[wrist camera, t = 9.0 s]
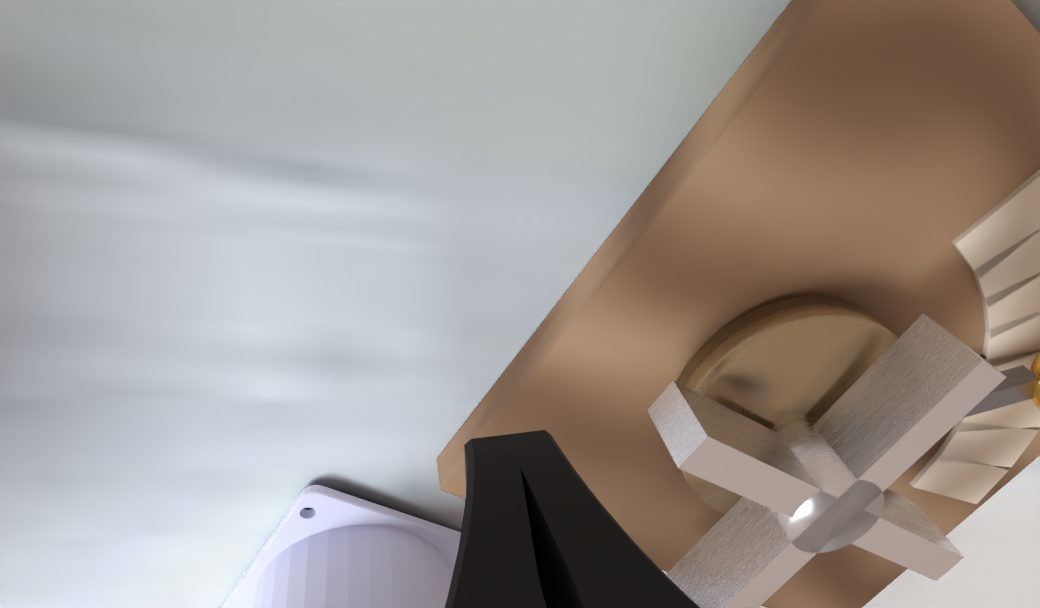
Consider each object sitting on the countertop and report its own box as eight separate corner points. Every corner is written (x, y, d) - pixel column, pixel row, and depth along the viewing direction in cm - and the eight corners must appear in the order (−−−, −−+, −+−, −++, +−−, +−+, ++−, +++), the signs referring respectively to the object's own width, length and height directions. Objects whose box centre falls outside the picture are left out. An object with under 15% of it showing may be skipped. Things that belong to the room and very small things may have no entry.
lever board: (816, 603, 34) (835, 635, 33) (436, 458, 25) (441, 494, 24) (1207, 257, 27) (1254, 278, 26) (878, -112, 18) (922, -110, 17)
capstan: (807, 594, 31) (866, 689, 27) (529, 491, 24) (558, 597, 21) (1092, 336, 26) (1208, 411, 22) (835, 125, 20) (941, 182, 16)
